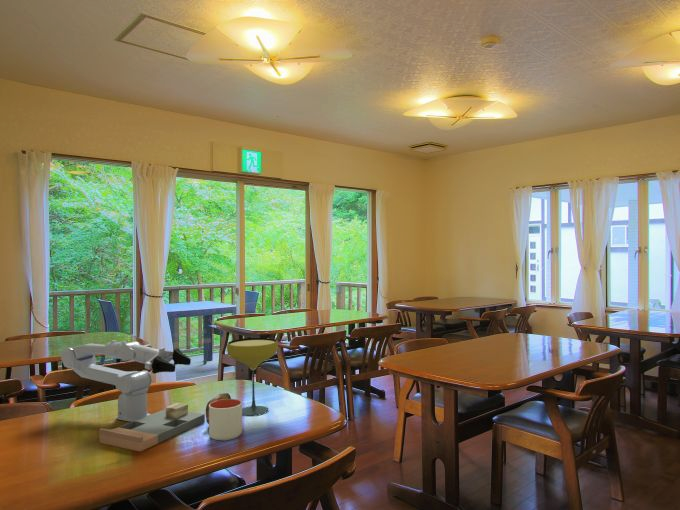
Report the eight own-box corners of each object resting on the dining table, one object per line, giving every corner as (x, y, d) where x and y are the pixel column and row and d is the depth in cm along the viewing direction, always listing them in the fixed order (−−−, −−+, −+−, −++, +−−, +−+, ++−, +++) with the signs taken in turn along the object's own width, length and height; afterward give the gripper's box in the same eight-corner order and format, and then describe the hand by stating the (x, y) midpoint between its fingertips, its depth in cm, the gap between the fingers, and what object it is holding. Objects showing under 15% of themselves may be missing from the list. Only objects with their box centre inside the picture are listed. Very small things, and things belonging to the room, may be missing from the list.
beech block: (165, 416, 158) (165, 407, 158) (177, 411, 163) (177, 402, 163) (176, 417, 156) (175, 408, 156) (187, 412, 161) (187, 404, 161)
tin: (212, 429, 152) (212, 403, 152) (204, 428, 153) (203, 402, 153) (232, 414, 167) (232, 390, 167) (224, 413, 168) (224, 389, 168)
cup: (248, 431, 149) (247, 400, 149) (231, 443, 140) (230, 410, 140) (221, 428, 152) (220, 397, 153) (202, 439, 143) (202, 407, 143)
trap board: (99, 442, 142) (99, 429, 142) (167, 415, 167) (167, 403, 167) (140, 451, 135) (140, 437, 135) (204, 421, 159) (204, 409, 159)
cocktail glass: (281, 416, 163) (280, 344, 163) (228, 421, 159) (227, 347, 159) (275, 401, 180) (274, 336, 181) (227, 405, 176) (226, 339, 176)
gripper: (134, 350, 155) (167, 359, 150) (166, 340, 168) (197, 347, 163) (133, 371, 156) (166, 381, 151) (164, 358, 169) (195, 367, 164)
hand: (182, 365), depth 157 cm, fingers open, 7 cm apart
